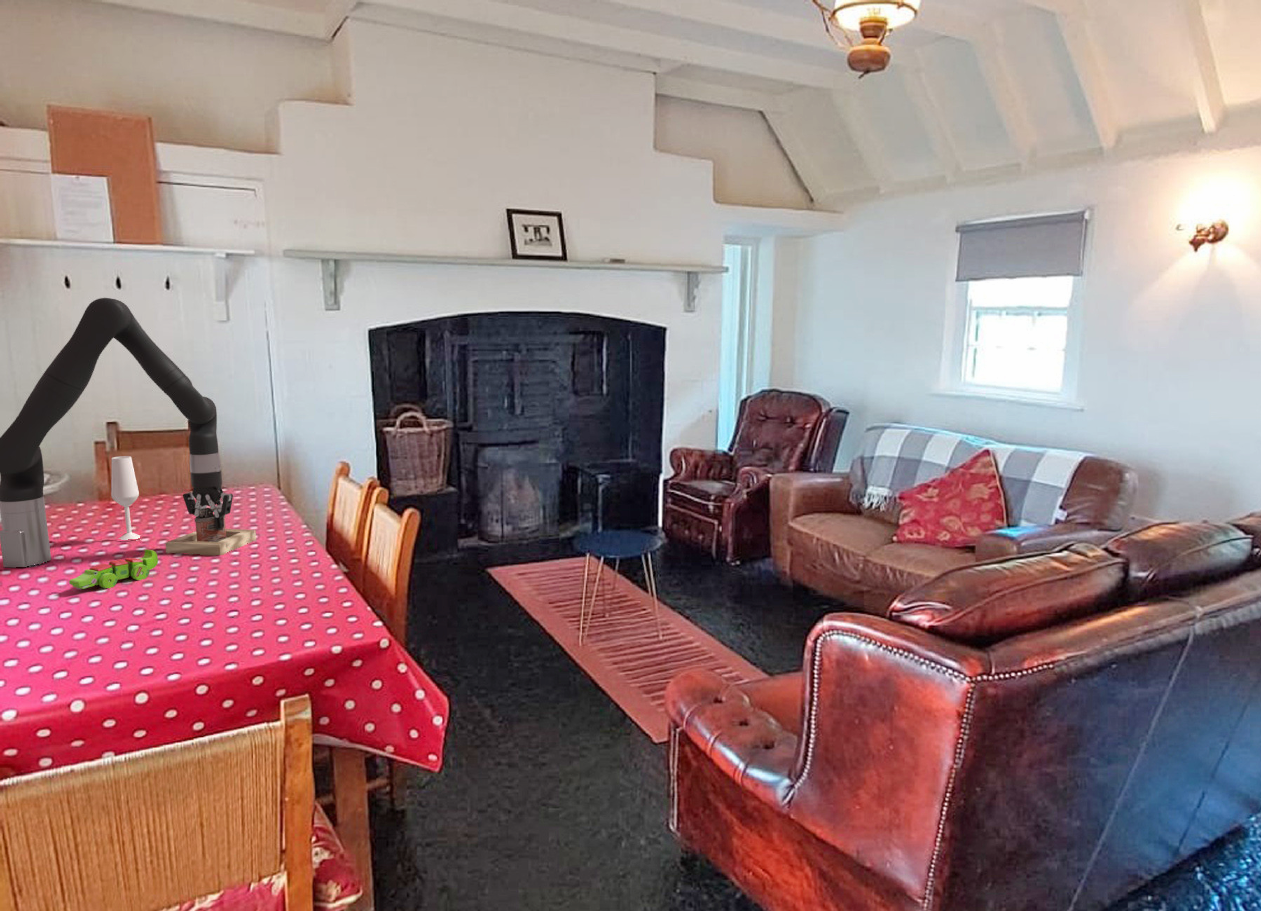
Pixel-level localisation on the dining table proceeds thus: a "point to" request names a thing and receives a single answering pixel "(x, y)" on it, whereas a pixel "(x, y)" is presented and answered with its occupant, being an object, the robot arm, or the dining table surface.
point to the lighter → (208, 527)
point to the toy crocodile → (116, 571)
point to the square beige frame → (211, 543)
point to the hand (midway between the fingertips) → (210, 529)
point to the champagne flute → (124, 489)
